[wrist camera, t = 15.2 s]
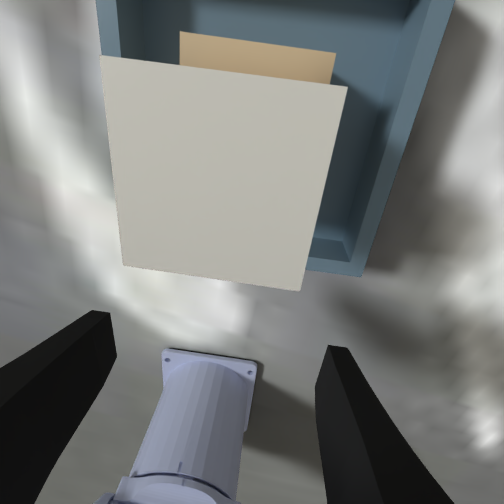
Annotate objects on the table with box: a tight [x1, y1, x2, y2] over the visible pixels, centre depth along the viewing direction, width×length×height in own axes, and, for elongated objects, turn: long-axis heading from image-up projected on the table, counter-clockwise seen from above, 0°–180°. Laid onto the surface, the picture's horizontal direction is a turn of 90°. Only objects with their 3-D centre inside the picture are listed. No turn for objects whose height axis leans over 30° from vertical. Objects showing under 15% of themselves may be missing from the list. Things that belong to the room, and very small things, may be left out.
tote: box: [96, 0, 455, 277], centre depth 15 cm, size 13×13×4 cm
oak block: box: [180, 31, 336, 84], centre depth 13 cm, size 6×5×5 cm
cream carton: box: [99, 55, 348, 292], centre depth 8 cm, size 4×4×6 cm
